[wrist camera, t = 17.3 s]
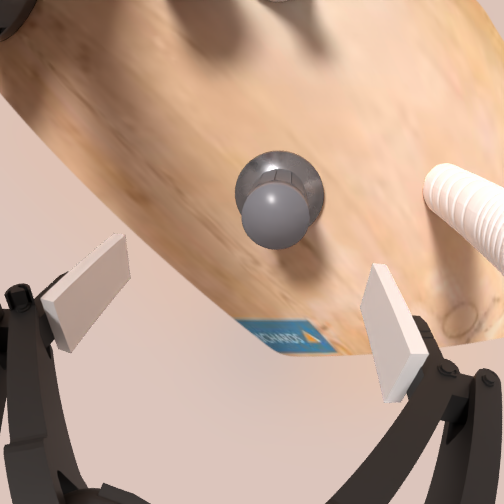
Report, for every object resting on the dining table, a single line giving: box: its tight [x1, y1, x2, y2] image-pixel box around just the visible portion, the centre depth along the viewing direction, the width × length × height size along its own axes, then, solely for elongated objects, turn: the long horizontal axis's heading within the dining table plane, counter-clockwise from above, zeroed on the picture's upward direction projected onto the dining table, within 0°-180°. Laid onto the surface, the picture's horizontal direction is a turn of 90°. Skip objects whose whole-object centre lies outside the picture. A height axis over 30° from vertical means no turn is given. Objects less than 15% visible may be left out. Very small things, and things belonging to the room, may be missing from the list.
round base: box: [235, 151, 324, 227], centre depth 32 cm, size 10×10×6 cm
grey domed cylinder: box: [242, 168, 310, 250], centre depth 31 cm, size 6×6×8 cm
